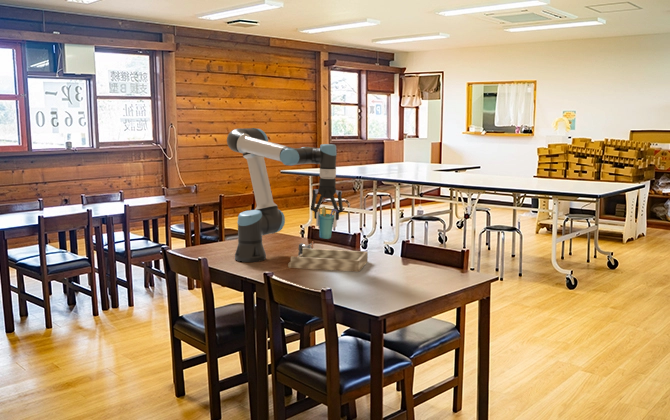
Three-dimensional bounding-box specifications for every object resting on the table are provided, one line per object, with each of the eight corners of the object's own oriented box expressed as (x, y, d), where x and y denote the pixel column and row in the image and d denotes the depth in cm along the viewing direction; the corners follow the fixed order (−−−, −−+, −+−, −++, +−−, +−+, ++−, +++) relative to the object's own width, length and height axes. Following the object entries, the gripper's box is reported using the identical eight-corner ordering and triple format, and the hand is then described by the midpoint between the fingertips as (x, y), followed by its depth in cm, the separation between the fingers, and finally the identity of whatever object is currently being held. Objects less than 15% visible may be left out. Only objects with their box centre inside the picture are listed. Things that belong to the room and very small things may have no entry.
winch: (298, 256, 313) (297, 241, 312) (300, 254, 318) (300, 239, 317) (311, 257, 311) (311, 242, 310) (314, 255, 316) (314, 240, 315)
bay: (288, 267, 290) (288, 256, 289) (300, 258, 309) (300, 248, 308) (359, 271, 282) (359, 260, 281) (367, 261, 301) (367, 251, 301)
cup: (341, 240, 291) (344, 209, 288) (328, 242, 287) (331, 210, 284) (324, 233, 302) (326, 203, 299) (310, 234, 297) (313, 204, 295)
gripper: (304, 177, 288) (303, 226, 292) (347, 179, 284) (346, 229, 288) (308, 175, 296) (307, 223, 299) (351, 178, 291) (349, 226, 295)
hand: (326, 226), depth 293 cm, fingers closed on cup, 8 cm apart
